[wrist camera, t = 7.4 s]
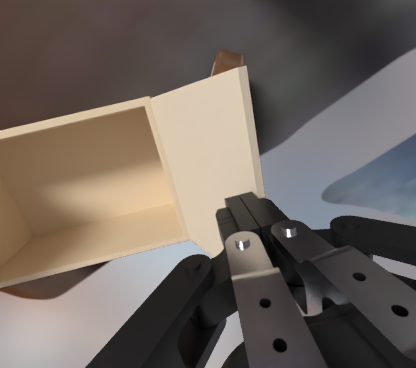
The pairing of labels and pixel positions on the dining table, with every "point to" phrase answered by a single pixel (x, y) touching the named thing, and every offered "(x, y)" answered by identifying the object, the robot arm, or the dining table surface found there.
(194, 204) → the flap
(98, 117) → the carton
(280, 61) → the dining table surface
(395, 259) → the robot arm
